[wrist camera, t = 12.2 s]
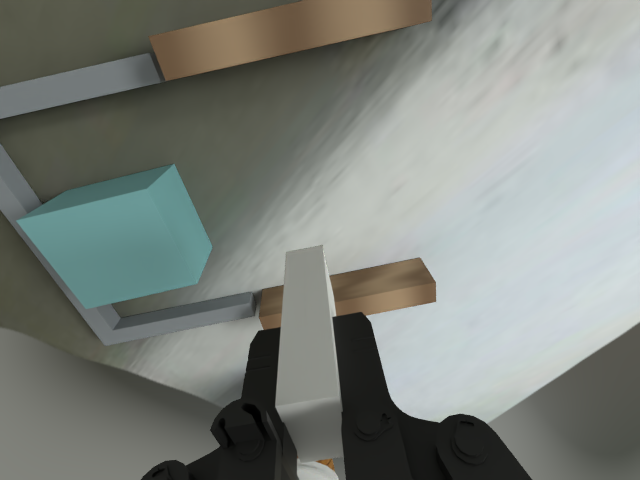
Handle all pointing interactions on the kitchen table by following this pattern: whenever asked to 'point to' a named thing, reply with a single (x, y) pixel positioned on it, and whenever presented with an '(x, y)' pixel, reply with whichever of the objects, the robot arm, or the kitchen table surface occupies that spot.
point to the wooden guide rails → (288, 37)
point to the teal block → (122, 237)
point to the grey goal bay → (19, 199)
